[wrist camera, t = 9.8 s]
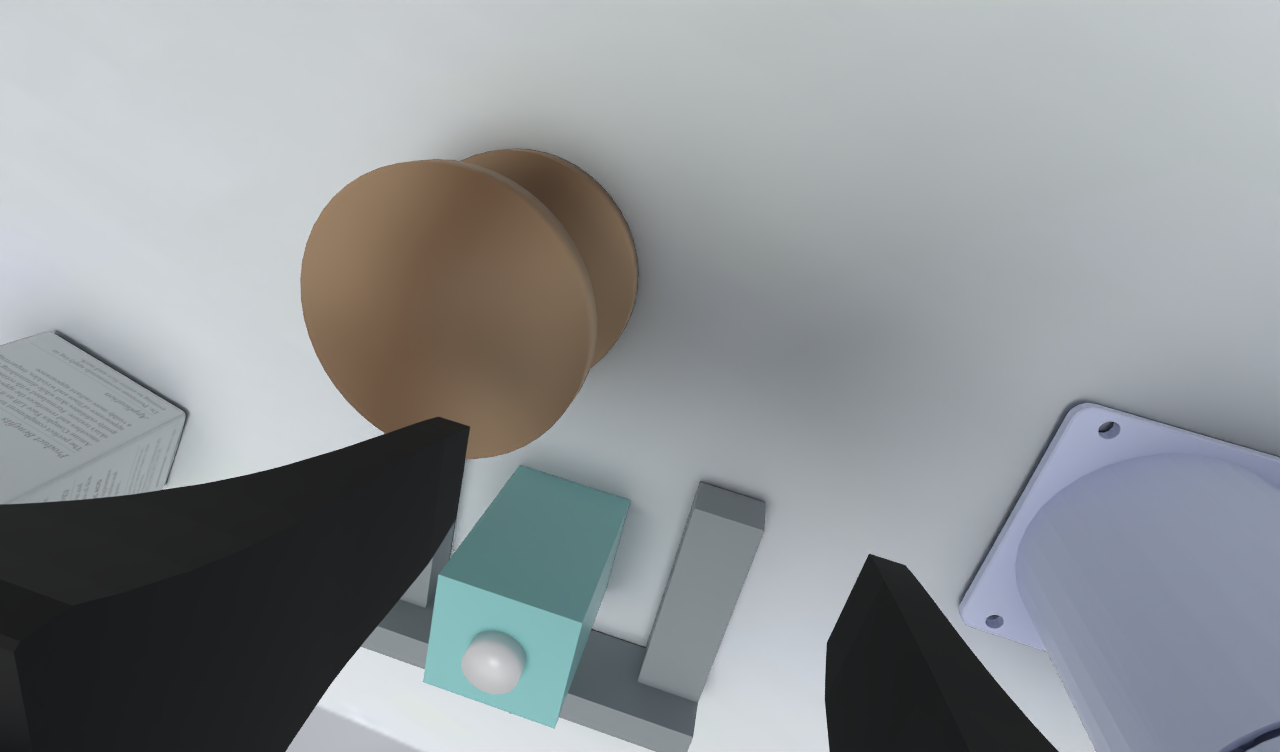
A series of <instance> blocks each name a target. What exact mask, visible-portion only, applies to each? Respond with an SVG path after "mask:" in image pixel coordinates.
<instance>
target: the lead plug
mask: <svg viewBox="0 0 1280 752" xmlns="http://www.w3.org/2000/svg"><path fill="white" fill-rule="evenodd" d="M630 501H631V500H628V499H625V498H622V497H618V496H615V495H612V494H609V493H606V492H603V491H600V490H596V489H593V488H590V487H587V486H584V485H581V484H578V483H575V482H571V481H568V480H565V479H562V478H559V477H556V476H553V475H549V474H546V473H543V472H540V471H537V470H534V469H531V468H527V467H524V466H521V465H520V466H519V467H518V468H517V470H516V471H515V473H514V474H513V475H512V477H511V478H510V479H509V481H508V482H507V483H506V485H505V486H504V487H503V489H502V490H501V491H500V493H499V494H498V495H497V497H496V498H495V499H494V501H493V502H492V503H491V505H490V506H489V507H488V509H487V510H486V511H485V513H484V514H483V515H482V517H481V518H480V519H479V521H478V522H477V523H476V525H475V526H474V527H473V529H472V530H471V531H470V533H469V534H468V535H467V537H466V538H465V540H464V541H463V542H462V544H461V545H460V546H459V548H458V549H457V550H456V552H455V553H454V554H453V556H452V557H451V558H450V560H449V561H448V562H447V564H446V565H445V566H444V568H443V569H442V570H441V572H440V573H439V574H438V581H437V588H436V595H435V602H434V609H433V616H432V623H431V630H430V637H429V644H428V651H427V658H426V665H425V672H424V679H423V682H425V683H427V684H430V685H433V686H436V687H439V688H442V689H444V690H447V691H450V692H453V693H456V694H458V695H461V696H464V697H467V698H470V699H473V700H475V701H478V702H481V703H484V704H487V705H489V706H492V707H495V708H498V709H501V710H504V711H506V712H509V713H512V714H515V715H518V716H520V717H523V718H526V719H529V720H532V721H534V722H537V723H540V724H543V725H546V726H549V727H551V728H554V729H555V726H556V723H557V721H558V718H559V715H560V713H561V710H562V707H563V705H564V702H565V699H566V696H567V694H568V691H569V688H570V686H571V683H572V680H573V678H574V675H575V672H576V669H577V667H578V664H579V661H580V659H581V656H582V653H583V651H584V648H585V645H586V642H587V640H588V637H589V634H590V632H591V629H592V626H593V623H594V621H595V618H596V615H597V613H598V610H599V607H600V605H601V602H602V599H603V596H604V594H605V591H606V588H607V584H608V580H609V577H610V573H611V570H612V566H613V562H614V559H615V555H616V551H617V548H618V544H619V541H620V537H621V533H622V530H623V526H624V522H625V519H626V515H627V511H628V508H629V504H630Z"/></svg>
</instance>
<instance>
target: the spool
mask: <svg viewBox="0 0 1280 752" xmlns="http://www.w3.org/2000/svg"><path fill="white" fill-rule="evenodd" d="M300 281H301V302H302V308H303V315H304V320H305V323H306V327H307V331H308V334H309V337H310V340H311V342H312V345H313V347H314V350H315V353H316V355H317V357H318V358H319V360H320V362H321V364H322V366H323V368H324V370H325V372H326V373H327V375H328V376H329V378H330V379H331V381H332V382H333V384H334V385H335V387H336V388H337V389H338V390H339V392H340V393H341V394H342V395H343V397H344V398H345V399H346V400H347V401H348V402H349V403H350V404H351V405H352V406H353V407H354V408H355V409H356V410H357V411H358V412H359V413H360V414H361V415H362V416H363V417H364V418H365V419H367V420H368V421H369V422H370V423H372V424H373V425H374V426H375V427H377V428H378V429H380V430H381V431H383V432H384V433H389V432H392V431H395V430H398V429H401V428H403V427H406V426H409V425H412V424H415V423H418V422H421V421H424V420H427V419H431V418H435V417H442V418H445V419H448V420H451V421H455V422H458V423H461V424H464V425H467V426H470V432H469V438H468V445H467V451H466V458H465V459H478V458H487V457H494V456H498V455H502V454H506V453H509V452H511V451H514V450H516V449H519V448H521V447H524V446H525V445H527V444H529V443H530V442H532V441H534V440H536V439H537V438H539V437H540V436H541V435H542V434H544V433H545V432H546V431H547V430H549V429H550V428H551V427H552V426H553V425H554V424H555V422H556V421H557V420H558V419H559V418H560V417H561V416H562V415H563V413H564V412H565V411H566V409H567V408H568V407H569V405H570V404H571V402H572V401H573V399H574V398H575V396H576V395H577V393H578V392H579V390H580V389H581V387H582V385H583V383H584V381H585V379H586V377H587V375H588V373H589V370H590V368H591V367H592V366H594V365H595V364H596V363H597V362H598V361H600V360H601V359H602V358H603V357H604V356H605V354H606V353H607V352H608V351H609V350H610V349H611V348H612V346H613V345H614V343H615V342H616V341H617V339H618V338H619V336H620V335H621V333H622V332H623V330H624V329H625V327H626V325H627V323H628V321H629V318H630V316H631V313H632V310H633V307H634V304H635V300H636V294H637V289H638V263H637V255H636V250H635V246H634V241H633V238H632V235H631V233H630V230H629V227H628V225H627V223H626V221H625V219H624V217H623V215H622V213H621V211H620V210H619V208H618V207H617V205H616V204H615V202H614V201H613V199H612V198H611V197H610V195H609V194H608V193H607V192H606V191H605V190H604V188H603V187H602V186H601V185H600V184H599V183H598V182H596V181H595V180H594V179H593V178H592V177H591V176H590V175H589V174H587V173H586V172H584V171H583V170H581V169H580V168H578V167H577V166H576V165H574V164H572V163H570V162H568V161H566V160H564V159H562V158H560V157H557V156H554V155H551V154H548V153H545V152H540V151H535V150H528V149H507V150H497V151H490V152H485V153H481V154H477V155H474V156H471V157H469V158H466V159H464V160H462V161H456V160H442V159H432V160H420V161H412V162H404V163H397V164H393V165H389V166H385V167H381V168H378V169H376V170H373V171H371V172H369V173H366V174H364V175H362V176H360V177H359V178H357V179H356V180H354V181H352V182H351V183H349V184H348V185H346V186H345V187H344V188H343V189H342V190H341V191H340V192H339V193H337V194H336V195H335V196H334V197H333V198H332V199H331V201H330V202H329V203H328V204H327V206H326V207H325V208H324V209H323V211H322V212H321V214H320V216H319V217H318V219H317V221H316V223H315V224H314V226H313V228H312V231H311V233H310V236H309V238H308V241H307V243H306V248H305V252H304V256H303V260H302V269H301V280H300Z"/></svg>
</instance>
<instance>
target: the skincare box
mask: <svg viewBox="0 0 1280 752" xmlns="http://www.w3.org/2000/svg"><path fill="white" fill-rule="evenodd" d="M185 416H186V415H185V413H184V412H183V411H182V410H181V409H179V408H177V407H176V406H174V405H172V404H171V403H169V402H167V401H166V400H164V399H162V398H160V397H159V396H157V395H155V394H154V393H152V392H151V391H149V390H147V389H146V388H144V387H142V386H141V385H139V384H137V383H136V382H134V381H132V380H131V379H129V378H127V377H126V376H124V375H122V374H121V373H119V372H117V371H116V370H114V369H112V368H111V367H109V366H107V365H106V364H104V363H102V362H101V361H99V360H97V359H96V358H94V357H92V356H91V355H89V354H87V353H86V352H84V351H82V350H81V349H79V348H77V347H76V346H74V345H72V344H71V343H69V342H67V341H66V340H64V339H62V338H61V337H59V336H57V335H56V334H54V333H52V332H44V333H40V334H37V335H33V336H30V337H27V338H24V339H20V340H17V341H13V342H9V343H6V344H3V345H0V504H24V503H42V502H56V501H70V500H83V499H93V498H104V497H114V496H123V495H132V494H139V493H145V492H152V491H159V490H161V489H162V488H163V485H164V484H165V483H166V480H167V477H168V474H169V471H170V469H171V466H172V463H173V460H174V457H175V454H176V450H177V447H178V444H179V441H180V437H181V433H182V430H183V426H184V422H185Z"/></svg>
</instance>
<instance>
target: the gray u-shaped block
mask: <svg viewBox="0 0 1280 752" xmlns="http://www.w3.org/2000/svg"><path fill="white" fill-rule="evenodd" d="M384 434H386V433H384ZM764 524H765V502H762V501H759V500H756V499H753V498H750V497H746V496H743V495H740V494H737V493H734V492H731V491H727V490H724V489H721V488H718V487H715V486H712V485H709V484H705V483H702V482H700V484H699V487H698V490H697V493H696V496H695V499H694V502H693V505H692V508H691V511H690V514H689V518H688V521H687V524H686V527H685V530H684V533H683V536H682V539H681V542H680V545H679V548H678V551H677V554H676V557H675V560H674V563H673V567H672V570H671V573H670V576H669V579H668V582H667V585H666V588H665V591H664V594H663V597H662V600H661V603H660V606H659V609H658V613H657V616H656V619H655V622H654V625H653V628H652V631H651V634H650V637H649V640H648V643H647V646H646V648H643V647H641V646H638V645H635V644H632V643H629V642H626V641H623V640H620V639H617V638H614V637H611V636H608V635H605V634H603V633H600V632H597V631H594V630H591V632H590V634H589V637H588V640H587V642H586V645H585V648H584V651H583V653H582V656H581V659H580V661H579V664H578V667H577V669H576V672H575V675H574V678H573V680H572V683H571V686H570V688H569V691H568V694H567V696H566V699H565V702H564V705H563V707H562V710H561V713H560V715H559V717H560V718H563V719H566V720H569V721H572V722H574V723H577V724H580V725H583V726H586V727H588V728H591V729H594V730H597V731H600V732H602V733H605V734H608V735H611V736H614V737H617V738H619V739H622V740H625V741H628V742H631V743H633V744H636V745H639V746H642V747H645V748H647V749H650V750H653V751H656V752H687V751H688V748H689V746H690V743H691V741H692V738H693V733H694V726H695V719H696V712H697V705H698V701H699V698H700V696H701V693H702V691H703V688H704V685H705V683H706V680H707V678H708V675H709V672H710V670H711V667H712V665H713V662H714V659H715V657H716V654H717V652H718V649H719V646H720V644H721V641H722V639H723V636H724V634H725V631H726V628H727V626H728V623H729V621H730V618H731V615H732V613H733V610H734V608H735V605H736V602H737V600H738V597H739V595H740V592H741V590H742V587H743V584H744V582H745V579H746V577H747V574H748V571H749V569H750V566H751V564H752V561H753V558H754V556H755V553H756V551H757V548H758V546H759V543H760V540H761V538H762V535H763V533H764ZM454 525H455V522H454V524H453V525H452V527H451V529H450V530H449V532H448V533H447V535H446V537H445V538H444V540H443V542H442V543H441V545H440V547H439V548H438V550H437V551H436V553H435V554H434V556H433V557H432V559H431V561H430V562H429V564H428V565H427V566H426V568H425V569H424V570H423V571H422V573H421V574H420V575H419V576H418V578H417V579H416V580H415V581H414V582H413V584H412V585H411V586H410V587H409V589H408V590H407V591H406V592H405V593H404V595H403V596H402V597H401V598H400V600H399V601H398V602H397V603H396V604H395V606H394V607H393V608H392V609H391V610H390V612H389V613H388V614H387V615H386V616H385V618H384V619H383V620H382V621H381V622H380V624H379V625H378V626H377V627H376V628H375V630H374V631H373V632H372V633H371V634H370V636H369V637H368V638H367V639H366V640H365V642H364V643H363V644H362V645H361V647H364V648H367V649H369V650H372V651H375V652H378V653H381V654H383V655H386V656H389V657H392V658H395V659H397V660H400V661H403V662H406V663H409V664H412V665H414V666H417V667H420V668H423V669H425V665H426V658H427V651H428V644H429V637H430V630H431V623H432V616H433V609H434V602H435V595H436V588H437V581H438V574H439V573H440V572H441V570H442V569H443V568H444V566H445V565H446V564H447V562H448V561H449V558H450V551H451V545H452V538H453V532H454Z"/></svg>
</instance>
